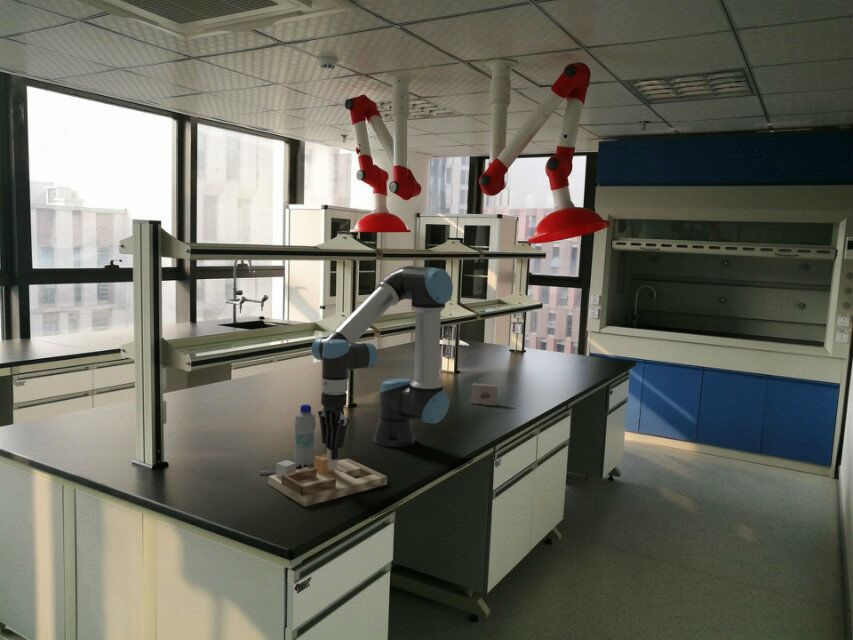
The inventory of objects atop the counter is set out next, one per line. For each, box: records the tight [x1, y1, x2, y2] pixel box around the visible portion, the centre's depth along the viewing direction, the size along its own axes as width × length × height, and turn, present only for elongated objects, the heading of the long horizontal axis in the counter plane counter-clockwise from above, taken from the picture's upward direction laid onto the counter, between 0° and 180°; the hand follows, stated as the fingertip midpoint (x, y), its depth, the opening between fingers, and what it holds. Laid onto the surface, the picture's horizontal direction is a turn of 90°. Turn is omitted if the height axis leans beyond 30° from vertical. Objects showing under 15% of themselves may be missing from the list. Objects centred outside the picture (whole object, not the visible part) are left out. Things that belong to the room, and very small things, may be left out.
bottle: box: [293, 404, 317, 469], centre depth 206 cm, size 7×7×20 cm
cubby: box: [282, 468, 336, 496], centre depth 184 cm, size 11×11×2 cm
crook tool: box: [259, 469, 276, 476], centre depth 198 cm, size 10×4×1 cm, turn 104°
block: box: [275, 459, 297, 478], centre depth 190 cm, size 4×4×4 cm
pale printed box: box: [470, 382, 498, 406], centre depth 301 cm, size 12×4×10 cm, turn 81°
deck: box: [267, 457, 388, 507], centre depth 192 cm, size 28×20×3 cm
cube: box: [313, 453, 335, 475], centre depth 196 cm, size 4×4×4 cm
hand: (331, 468), depth 194 cm, fingers closed
